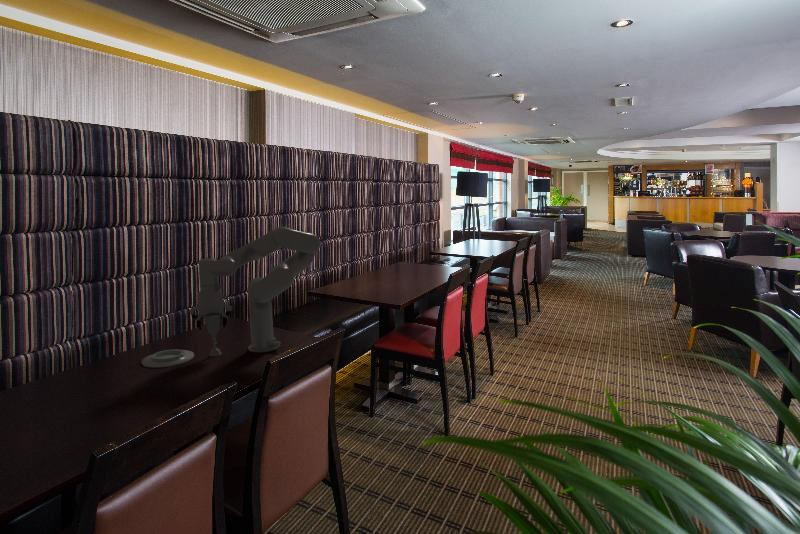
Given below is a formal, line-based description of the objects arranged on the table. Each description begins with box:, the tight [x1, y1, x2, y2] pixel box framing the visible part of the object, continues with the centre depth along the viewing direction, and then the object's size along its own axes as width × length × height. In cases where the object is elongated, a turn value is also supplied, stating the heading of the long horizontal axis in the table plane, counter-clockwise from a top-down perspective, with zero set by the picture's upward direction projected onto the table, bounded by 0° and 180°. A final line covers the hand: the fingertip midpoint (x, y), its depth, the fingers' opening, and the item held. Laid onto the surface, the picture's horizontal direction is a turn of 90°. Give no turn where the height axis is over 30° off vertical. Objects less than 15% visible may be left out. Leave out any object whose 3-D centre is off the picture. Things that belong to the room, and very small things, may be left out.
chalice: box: [203, 314, 222, 357], centre depth 215 cm, size 7×7×18 cm
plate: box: [141, 348, 195, 369], centre depth 211 cm, size 20×20×2 cm
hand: (212, 327), depth 214 cm, fingers open, 9 cm apart
